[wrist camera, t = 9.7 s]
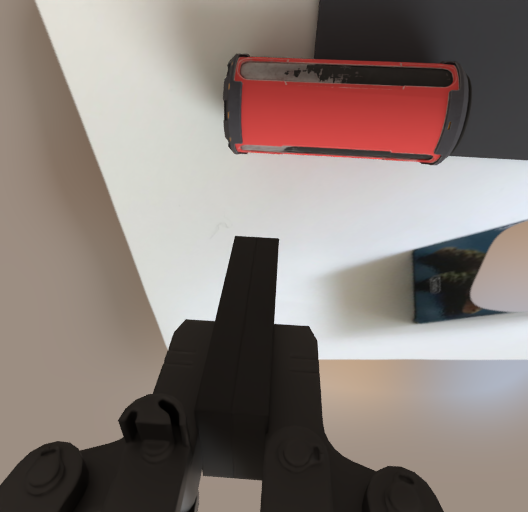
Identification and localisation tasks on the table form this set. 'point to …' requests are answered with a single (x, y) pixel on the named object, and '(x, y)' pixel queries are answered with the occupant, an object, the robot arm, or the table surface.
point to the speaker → (346, 108)
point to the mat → (446, 56)
